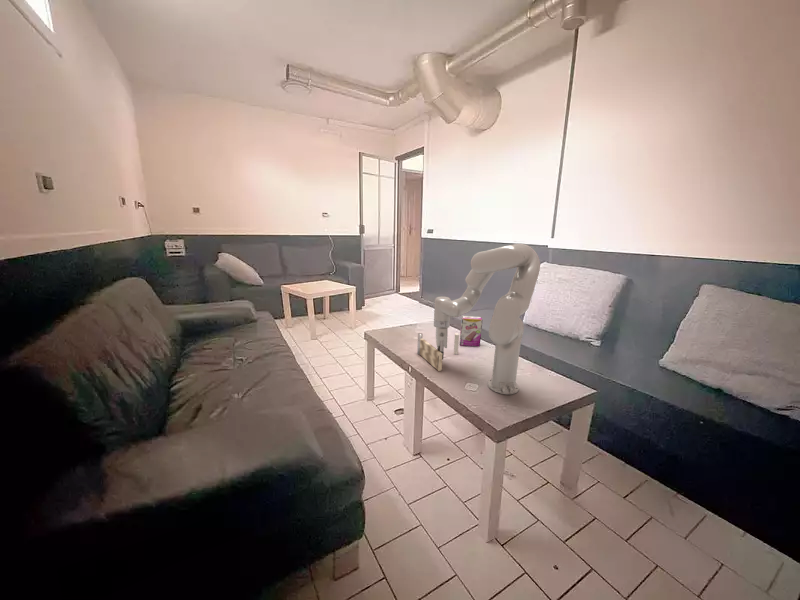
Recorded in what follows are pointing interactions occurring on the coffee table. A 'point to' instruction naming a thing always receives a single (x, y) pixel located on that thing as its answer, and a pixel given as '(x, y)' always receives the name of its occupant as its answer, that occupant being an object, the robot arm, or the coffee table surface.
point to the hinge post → (419, 342)
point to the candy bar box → (470, 331)
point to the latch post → (456, 343)
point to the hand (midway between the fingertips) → (439, 358)
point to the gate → (431, 354)
